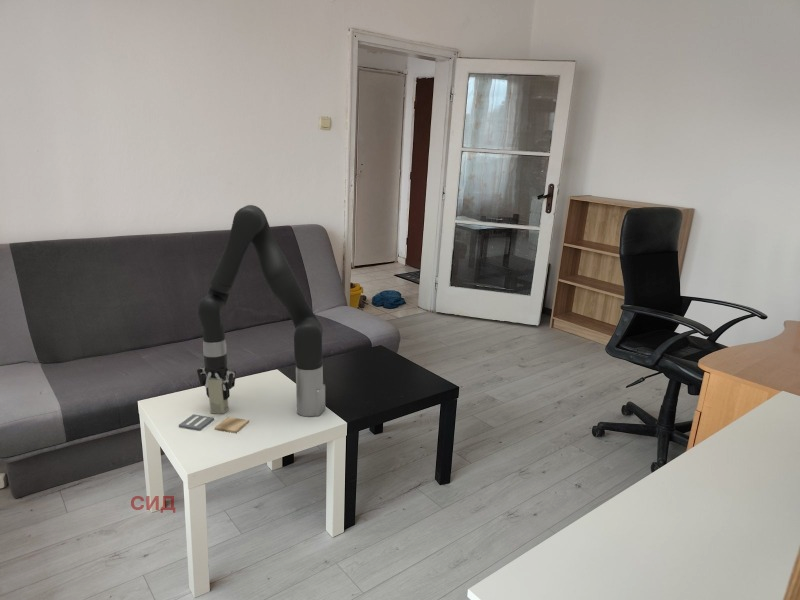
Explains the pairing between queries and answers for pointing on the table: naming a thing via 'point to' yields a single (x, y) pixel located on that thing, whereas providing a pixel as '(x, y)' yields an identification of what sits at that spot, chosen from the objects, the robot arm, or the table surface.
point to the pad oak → (231, 425)
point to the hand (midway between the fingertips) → (218, 397)
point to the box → (216, 396)
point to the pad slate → (196, 422)
